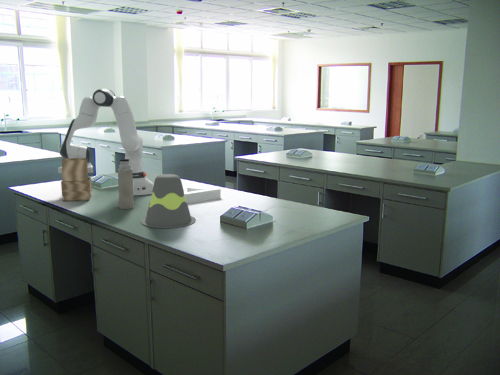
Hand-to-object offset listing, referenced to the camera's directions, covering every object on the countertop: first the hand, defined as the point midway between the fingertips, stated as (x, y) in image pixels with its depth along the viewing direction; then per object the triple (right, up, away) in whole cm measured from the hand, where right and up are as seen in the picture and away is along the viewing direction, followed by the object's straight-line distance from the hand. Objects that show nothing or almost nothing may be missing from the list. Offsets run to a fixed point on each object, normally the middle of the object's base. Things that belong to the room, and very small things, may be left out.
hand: (74, 171), depth 268 cm
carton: (-1, -16, +8) cm, 18 cm away
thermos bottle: (+35, -21, -13) cm, 43 cm away
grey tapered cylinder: (+64, -27, -40) cm, 80 cm away
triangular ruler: (+68, -17, +15) cm, 72 cm away
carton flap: (0, +1, 0) cm, 1 cm away
